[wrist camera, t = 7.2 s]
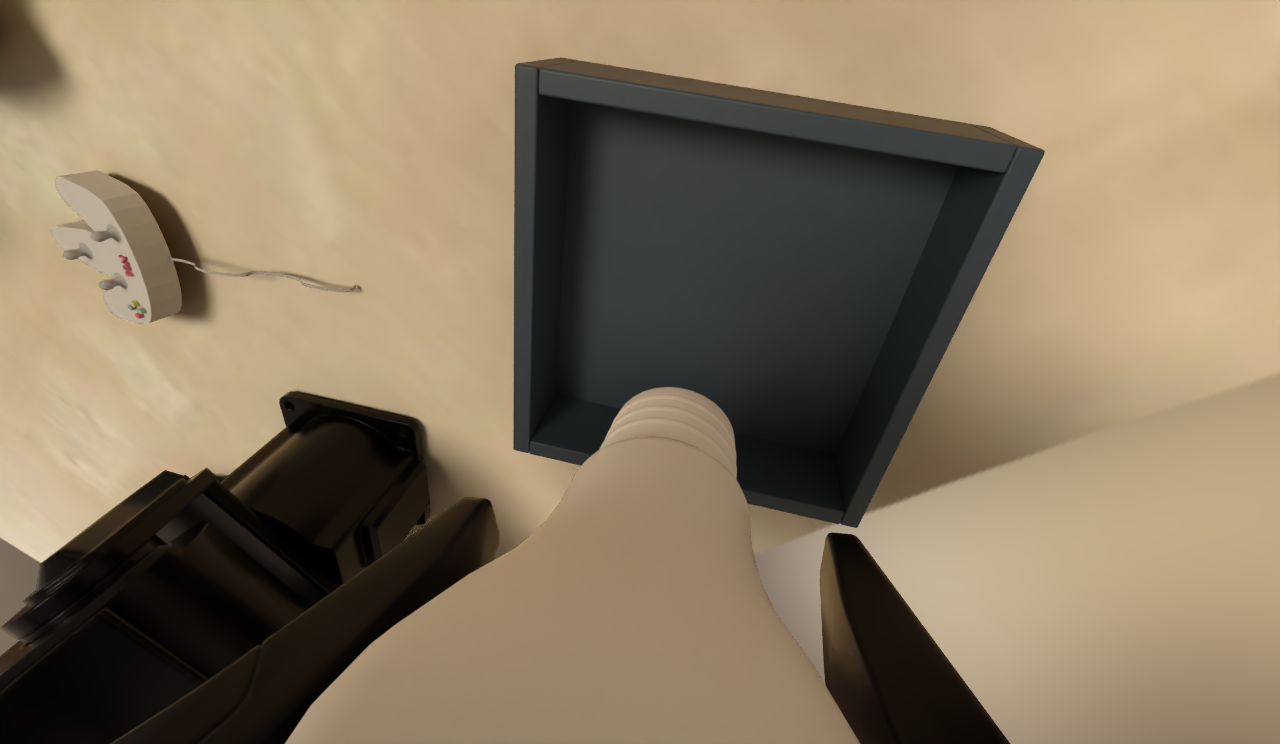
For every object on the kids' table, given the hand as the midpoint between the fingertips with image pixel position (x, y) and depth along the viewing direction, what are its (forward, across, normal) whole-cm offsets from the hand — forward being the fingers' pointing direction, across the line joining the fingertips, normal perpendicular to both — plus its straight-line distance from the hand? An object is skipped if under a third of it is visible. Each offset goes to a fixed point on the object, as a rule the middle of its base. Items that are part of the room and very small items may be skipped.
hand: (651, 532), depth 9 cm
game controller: (+12, +20, 0) cm, 23 cm away
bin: (+12, -1, +1) cm, 12 cm away
